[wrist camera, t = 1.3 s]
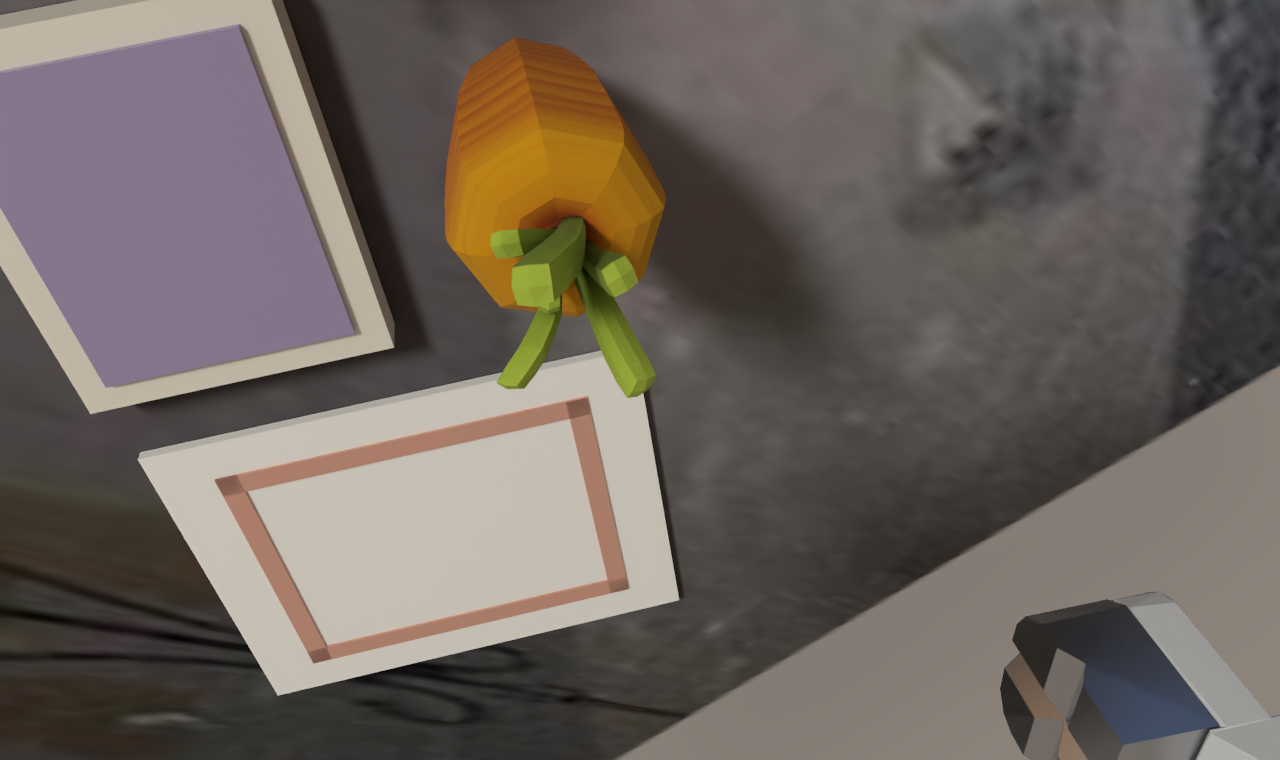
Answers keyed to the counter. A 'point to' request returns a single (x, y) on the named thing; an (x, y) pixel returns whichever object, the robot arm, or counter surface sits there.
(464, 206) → the carrot
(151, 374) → the ink pad
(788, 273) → the counter surface
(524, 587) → the print card
